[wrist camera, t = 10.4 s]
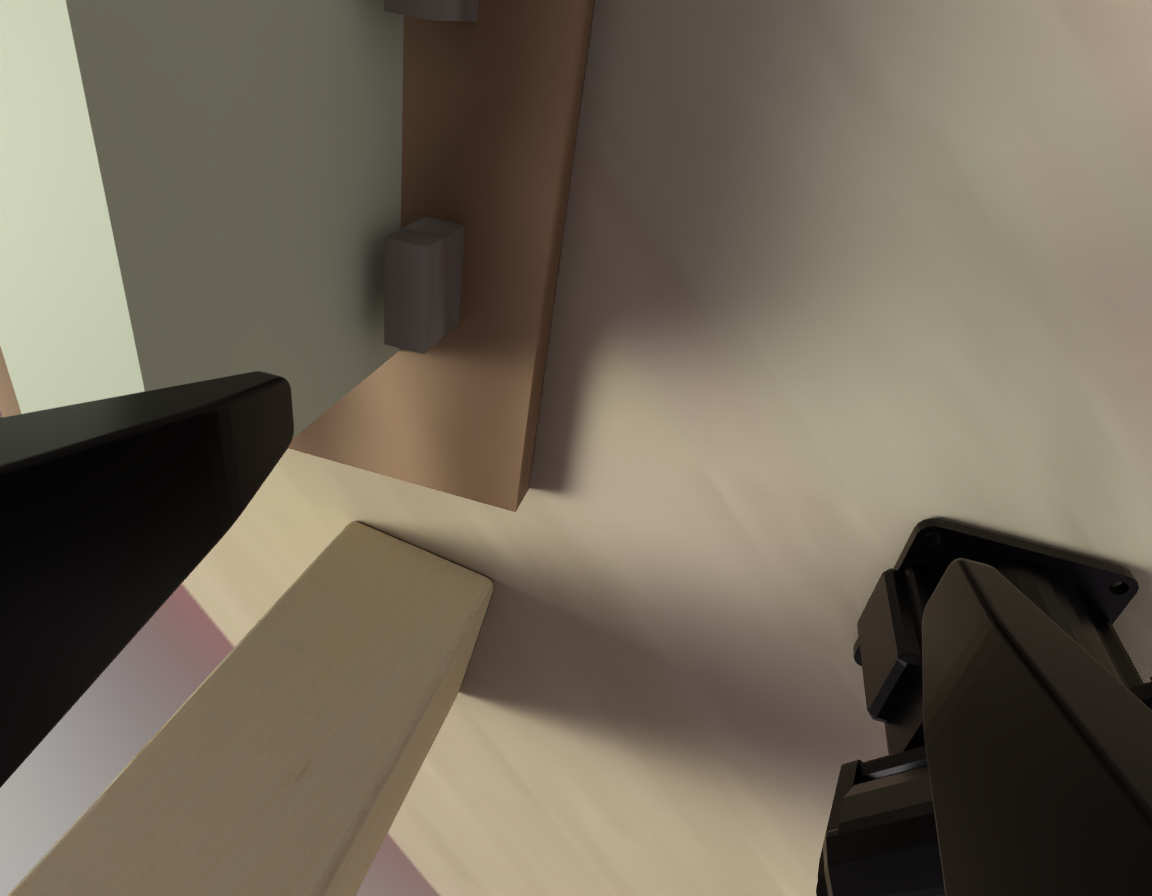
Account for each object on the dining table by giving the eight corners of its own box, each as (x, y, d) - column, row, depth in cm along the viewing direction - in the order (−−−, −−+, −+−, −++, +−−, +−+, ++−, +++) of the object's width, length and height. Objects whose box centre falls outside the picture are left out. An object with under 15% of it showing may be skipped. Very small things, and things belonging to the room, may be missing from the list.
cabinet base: (667, -540, 13) (584, -928, 8) (528, 488, 26) (460, 609, 21) (-47, -585, 16) (-494, -913, 10) (147, 383, 28) (-5, 467, 23)
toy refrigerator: (333, 506, 29) (-353, 1225, 12) (498, 576, 29) (46, 1429, 11) (315, 631, 34) (-203, 1292, 16) (458, 693, 33) (87, 1441, 16)
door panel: (407, -238, 15) (-46, -553, 7) (399, 351, 23) (174, 536, 14) (282, -255, 16) (-288, -571, 7) (314, 329, 23) (47, 497, 15)
